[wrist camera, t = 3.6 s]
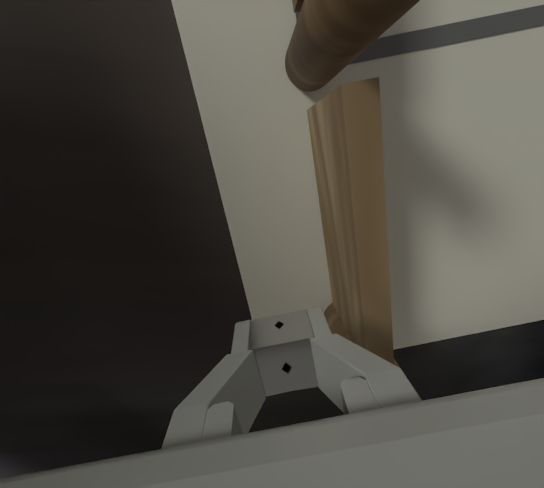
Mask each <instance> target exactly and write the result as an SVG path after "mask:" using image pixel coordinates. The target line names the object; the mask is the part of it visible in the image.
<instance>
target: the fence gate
mask: <svg viewBox="0 0 544 488" xmlns="http://www.w3.org/2000/svg"><path fill="white" fill-rule="evenodd" d="M307 115H308V123H309V130H310V138H311V145H312V153H313V160H314V168H315V175H316V182H317V190H318V197H319V205H320V212H321V220H322V227H323V235H324V242H325V250H326V257H327V265H328V272H329V280H330V287H331V294H332V302H333V303H331V304H330V305H329V306H328V307H327V308H326V310H325V312H324V315H325V317H326V320H327V322H328V325H329V327H330V330H331V332H332V334H338V335H340V336H342V337H344V338H346V339H348V340H349V341H351V342H353V343H355V344H357V345H359V346H360V347H362V348H364V349H366V350H368V351H370V352H371V353H373V354H375V355H377V356H379V357H381V358H382V359H384V360H386V361H388V362H390V363H392V364H393V365H395V366H397V367H399V368H400V366H399V365H398V363H397V362H396V361H395V359H394V352H393V333H392V314H391V295H390V276H389V256H388V237H387V218H386V199H385V180H384V161H383V141H382V122H381V103H380V84H379V77H376V78H371V79H366V80H361V81H356V82H351V83H346V84H342V85H340V86H338V87H337V88H336V89H334V90H333V91H332V92H330V93H329V94H328V95H326V96H325V97H324V98H322V99H321V100H320V101H318V102H317V103H315V104H314V105H313V106H311V107H310V108H309V109H307ZM400 369H401V368H400ZM401 370H402V369H401ZM402 372H403V371H402ZM403 373H404V372H403ZM404 375H405V374H404ZM405 376H406V375H405ZM406 378H407V377H406ZM407 379H408V378H407ZM408 381H409V380H408ZM409 382H410V381H409ZM410 384H411V383H410ZM411 386H412V384H411ZM412 387H413V386H412ZM413 389H414V387H413ZM414 390H415V389H414ZM415 392H416V390H415ZM416 393H417V392H416ZM417 395H418V393H417ZM418 396H419V395H418ZM419 398H420V396H419ZM420 399H421V398H420ZM421 401H422V399H421Z"/></svg>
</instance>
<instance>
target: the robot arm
mask: <svg viewBox="0 0 544 488" xmlns="http://www.w3.org/2000/svg"><path fill="white" fill-rule="evenodd" d="M313 387H319V389H320V390H321V391H322V392H323V393H324V394H325V395H326V396H327V397H328V398H329V399H330V400H331V401H332V402H333V403H334V404H335V405H336V406H337V407H338V408H339V409H340V410H341V411H343V412H344V415H341V416H336V417H330V418H325V419H320V420H314V421H309V422H304V423H298V424H293V425H288V426H282V427H277V428H272V429H266V430H261V431H256V432H250V433H248V432H249V430H250V428H251V426H252V424H253V422H254V420H255V418H256V416H257V414H258V413H259V411H260V409H261V407H262V405H263V403H264V401H265V399H266V396H271V395H275V394H280V393H284V392H289V391H294V390H301V389H307V388H313ZM0 488H544V378H541V379H536V380H530V381H525V382H519V383H514V384H509V385H503V386H498V387H492V388H487V389H482V390H477V391H472V392H466V393H461V394H456V395H450V396H445V397H439V398H434V399H428V400H423V401H421V399H420V398H419V396H418V395H417V393H416V392H415V390H414V389H413V387H412V386H411V384H410V382H409V381H408V379H407V378H406V376H405V375H404V373H403V372H402V370H401V369H400V368H399V367H397V366H395V365H393V364H392V363H390V362H388V361H386V360H384V359H382V358H381V357H379V356H377V355H375V354H373V353H371V352H370V351H368V350H366V349H364V348H362V347H360V346H359V345H357V344H355V343H353V342H351V341H349V340H348V339H346V338H344V337H342V336H340V335H338V334H332V332H331V330H330V327H329V325H328V322H327V320H326V317H325V315H324V313H323V310H322V308H321V307H320V306H318V307H313V308H309V309H305V310H301V311H296V312H291V313H287V314H282V315H275V316H269V317H263V318H257V319H252V320H246V321H241V322H237V323H236V324H235V329H234V336H233V343H232V350H231V354H227V355H226V356H225V357H224V358H223V359H222V360H221V361H220V362H219V363H218V364H217V365H216V366H215V368H214V369H213V370H212V371H211V372H210V373H209V374H208V375H207V376H206V377H205V378H204V379H203V380H202V381H201V382H200V383H199V384H198V385H197V386H196V388H195V389H194V390H193V391H192V392H191V393H190V394H189V395H188V396H187V397H186V398H185V399H184V400H183V401H182V402H181V403H180V404H179V405H178V407H177V408H176V409H175V410H174V412H173V415H172V418H171V421H170V424H169V427H168V430H167V433H166V436H165V439H164V442H163V445H162V448H161V449H159V450H153V451H148V452H142V453H137V454H131V455H126V456H121V457H115V458H110V459H104V460H99V461H94V462H88V463H83V464H77V465H72V466H66V467H61V468H56V469H50V470H45V471H39V472H34V473H29V474H23V475H18V476H12V477H7V478H1V479H0Z"/></svg>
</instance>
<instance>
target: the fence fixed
mask: <svg viewBox="0 0 544 488" xmlns="http://www.w3.org/2000/svg"><path fill="white" fill-rule="evenodd" d="M419 1H420V0H292V3H293V11H294V13H295V12H300V14H299V16H298V19H297V22H296V25H295V28H294V31H293V34H292V37H291V40H290V43H289V46H288V49H287V52H286V56H285V69H286V73H287V75H288V78H289V79H290V81H291V82H292V83H293V84H294V85H295V86H296V87H297V88H299V89H301V90H304V91H316V90H318V89H321V88H322V87H324V86H325V85H326V84H327V83H328V82H329V81H331V80H332V79H333V78H334V77H335V76H336V75H337V74H338V73H339V72H341V71H342V70H343V69H344V68H345V67H346V66H347V65H348V64H350V63H351V62H352V61H353V60H354V59H355V58H356V57H357V56H358V55H360V54H361V53H362V52H363V51H364V50H365V49H366V48H367V47H369V46H370V45H371V44H372V43H373V42H374V41H375V40H376V39H377V38H379V37H380V36H381V35H382V34H383V33H384V32H385V31H386V30H388V29H389V28H390V27H391V26H392V25H393V24H394V23H395V22H396V21H398V20H399V19H400V18H401V17H402V16H403V15H404V14H405V13H407V12H408V11H409V10H410V9H411V8H412V7H413V6H414V5H416V4H417V3H418V2H419Z"/></svg>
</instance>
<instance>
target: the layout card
mask: <svg viewBox="0 0 544 488" xmlns="http://www.w3.org/2000/svg"><path fill="white" fill-rule="evenodd" d="M171 1H172V5H173V9H174V13H175V17H176V21H177V25H178V29H179V33H180V37H181V41H182V44H183V48H184V52H185V56H186V60H187V64H188V68H189V72H190V76H191V80H192V84H193V88H194V92H195V96H196V100H197V104H198V108H199V112H200V116H201V120H202V124H203V128H204V131H205V135H206V139H207V143H208V147H209V151H210V155H211V159H212V163H213V167H214V171H215V175H216V179H217V183H218V187H219V191H220V195H221V199H222V203H223V207H224V211H225V215H226V218H227V222H228V226H229V230H230V234H231V238H232V242H233V246H234V250H235V254H236V258H237V262H238V266H239V270H240V274H241V278H242V282H243V286H244V290H245V294H246V298H247V302H248V306H249V309H250V313H251V317H252V319H257V318H263V317H269V316H275V315H282V314H287V313H291V312H296V311H301V310H305V309H309V308H313V307H318V306H320V307H321V308H322V310H323V313H324V312H325V310H326V308H327V307H328V306H329V305H330V304H331V303H333V302H332V294H331V287H330V280H329V272H328V265H327V257H326V250H325V242H324V235H323V227H322V220H321V212H320V205H319V197H318V190H317V182H316V175H315V168H314V160H313V153H312V145H311V138H310V130H309V123H308V115H307V109H309V108H310V107H311V106H313V105H314V104H315V103H317V102H318V101H320V100H321V99H322V98H324V97H325V96H326V95H328V94H329V93H330V92H332V91H333V90H334V89H336V88H337V87H338V86H340V85H342V84H346V83H351V82H356V81H361V80H366V79H371V78H376V77H379V84H380V103H381V122H382V141H383V161H384V180H385V199H386V218H387V237H388V256H389V276H390V295H391V314H392V333H393V350H394V349H399V348H404V347H409V346H414V345H419V344H424V343H429V342H434V341H439V340H444V339H449V338H454V337H459V336H464V335H469V334H474V333H479V332H484V331H489V330H494V329H499V328H504V327H509V326H514V325H519V324H524V323H529V322H534V321H539V320H544V0H420V1H419V2H418V3H417V4H416V5H414V6H413V7H412V8H411V9H410V10H409V11H408V12H407V13H405V14H404V15H403V16H402V17H401V18H400V19H399V20H398V21H396V22H395V23H394V24H393V25H392V26H391V27H390V28H389V29H388V30H386V31H385V32H384V33H383V34H382V35H381V36H380V37H379V38H377V39H376V40H375V41H374V42H373V43H372V44H371V45H370V46H369V47H367V48H366V49H365V50H364V51H363V52H362V53H361V54H360V55H358V56H357V57H356V58H355V59H354V60H353V61H352V62H351V63H350V64H348V65H347V66H346V67H345V68H344V69H343V70H342V71H341V72H339V73H338V74H337V75H336V76H335V77H334V78H333V79H332V80H331V81H329V82H328V83H327V84H326V85H325V86H324V87H322V88H321V89H318V90H316V91H304V90H301V89H299V88H297V87H296V86H295V85H294V84H293V83H292V82H291V81H290V79H289V78H288V75H287V73H286V69H285V56H286V52H287V49H288V46H289V43H290V40H291V37H292V34H293V31H294V28H295V25H296V22H297V19H298V16H299V14H300V12H295V13H294V11H293V3H292V0H171Z"/></svg>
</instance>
